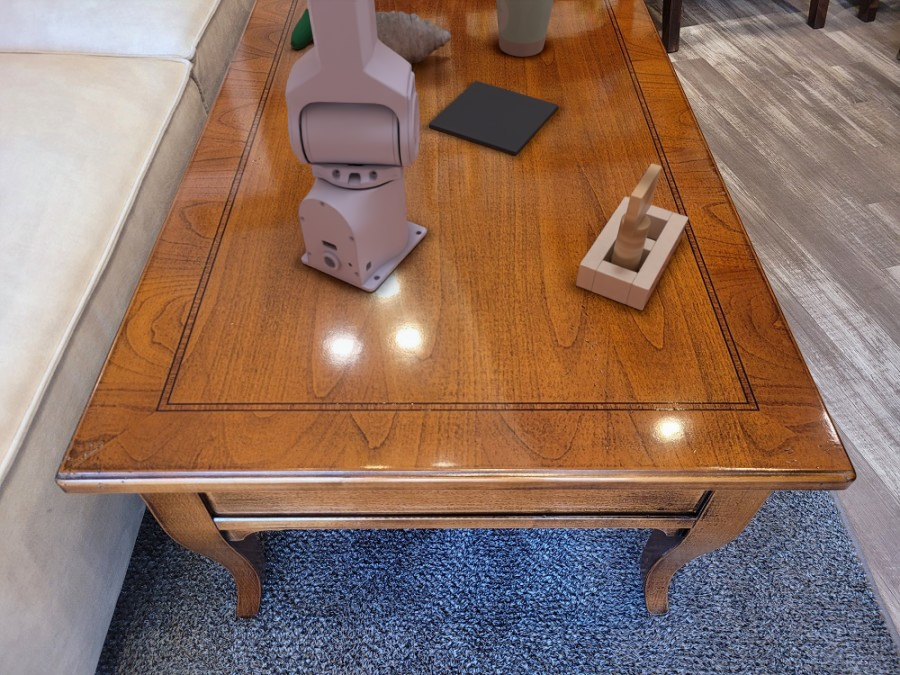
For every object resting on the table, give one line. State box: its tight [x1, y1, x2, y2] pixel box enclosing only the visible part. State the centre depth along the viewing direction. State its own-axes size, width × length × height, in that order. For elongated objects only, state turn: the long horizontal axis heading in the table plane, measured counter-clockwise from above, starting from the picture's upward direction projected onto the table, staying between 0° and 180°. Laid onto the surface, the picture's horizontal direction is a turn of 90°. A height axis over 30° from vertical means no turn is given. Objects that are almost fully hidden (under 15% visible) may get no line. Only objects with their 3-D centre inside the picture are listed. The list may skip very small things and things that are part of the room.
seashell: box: [375, 10, 452, 65], centre depth 84 cm, size 6×14×8 cm, turn 99°
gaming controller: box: [290, 5, 313, 50], centre depth 88 cm, size 9×4×6 cm
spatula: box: [609, 163, 663, 274], centre depth 57 cm, size 5×2×10 cm, turn 150°
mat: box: [428, 80, 559, 156], centre depth 78 cm, size 11×11×1 cm
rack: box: [575, 196, 689, 311], centre depth 61 cm, size 6×11×3 cm, turn 150°
